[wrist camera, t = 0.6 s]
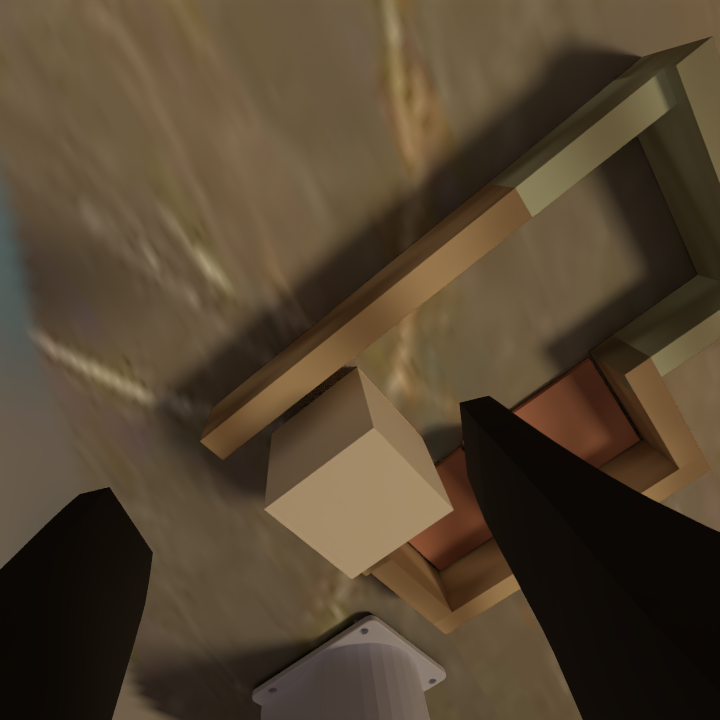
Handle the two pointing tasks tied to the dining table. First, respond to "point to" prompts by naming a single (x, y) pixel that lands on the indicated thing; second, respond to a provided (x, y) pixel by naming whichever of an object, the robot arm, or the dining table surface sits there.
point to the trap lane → (583, 382)
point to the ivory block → (353, 476)
